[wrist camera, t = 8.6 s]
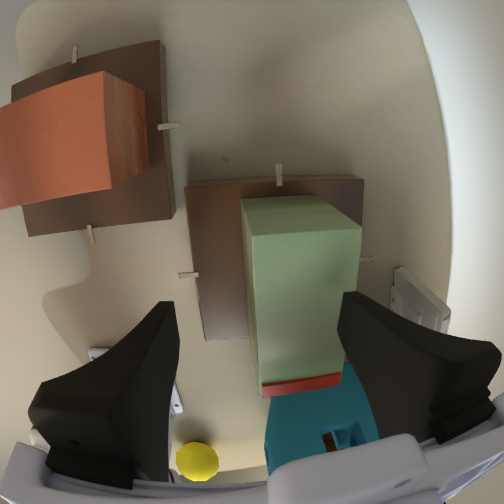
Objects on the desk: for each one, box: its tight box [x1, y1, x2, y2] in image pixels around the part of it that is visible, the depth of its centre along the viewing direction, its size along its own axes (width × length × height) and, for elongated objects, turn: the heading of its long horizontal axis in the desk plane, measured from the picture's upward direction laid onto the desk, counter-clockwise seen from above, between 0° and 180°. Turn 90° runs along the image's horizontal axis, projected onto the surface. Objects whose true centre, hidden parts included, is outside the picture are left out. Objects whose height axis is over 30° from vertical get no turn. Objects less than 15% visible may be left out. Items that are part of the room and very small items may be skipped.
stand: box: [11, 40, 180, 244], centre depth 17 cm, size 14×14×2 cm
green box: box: [241, 195, 363, 397], centre depth 17 cm, size 10×5×7 cm, turn 3°
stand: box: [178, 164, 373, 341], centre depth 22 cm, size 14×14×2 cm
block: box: [264, 363, 380, 476], centre depth 20 cm, size 12×5×20 cm, turn 89°
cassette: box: [390, 267, 451, 334], centre depth 23 cm, size 12×2×8 cm, turn 13°
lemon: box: [176, 442, 219, 481], centre depth 29 cm, size 7×5×5 cm
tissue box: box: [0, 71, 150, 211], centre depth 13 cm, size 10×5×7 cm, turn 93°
